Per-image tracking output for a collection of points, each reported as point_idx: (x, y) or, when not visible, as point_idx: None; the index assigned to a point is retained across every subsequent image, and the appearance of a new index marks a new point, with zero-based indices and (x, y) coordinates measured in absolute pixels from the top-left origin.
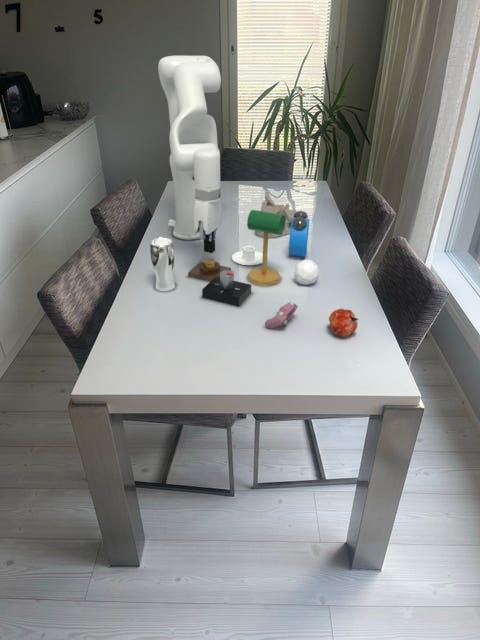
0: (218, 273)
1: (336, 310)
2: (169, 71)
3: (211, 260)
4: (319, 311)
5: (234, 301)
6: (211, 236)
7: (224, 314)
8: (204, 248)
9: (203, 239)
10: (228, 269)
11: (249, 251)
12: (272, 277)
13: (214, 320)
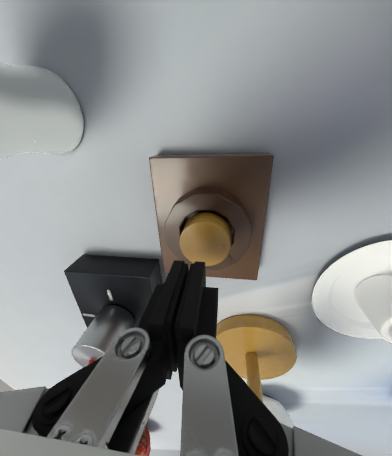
0: None
1: None
2: None
3: (211, 251)
4: (173, 410)
5: None
6: (136, 426)
7: (69, 311)
8: (170, 274)
9: (115, 345)
10: (239, 278)
11: (378, 332)
12: (241, 370)
13: (41, 302)
